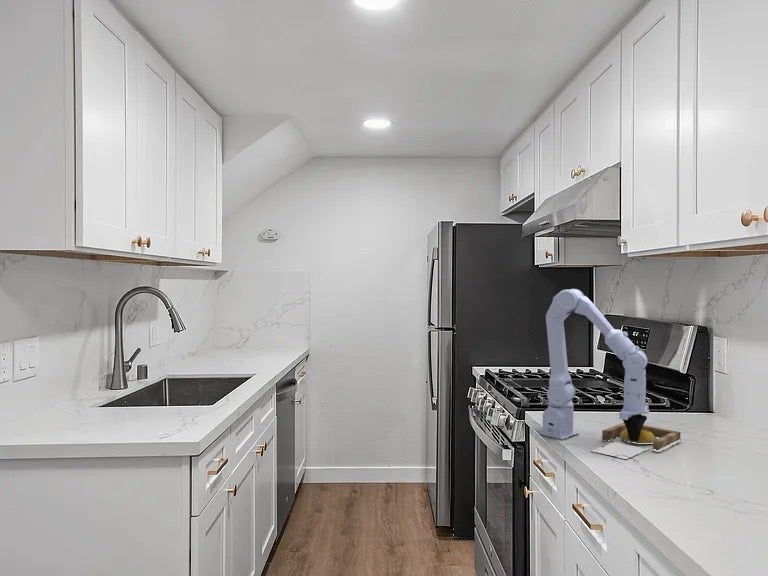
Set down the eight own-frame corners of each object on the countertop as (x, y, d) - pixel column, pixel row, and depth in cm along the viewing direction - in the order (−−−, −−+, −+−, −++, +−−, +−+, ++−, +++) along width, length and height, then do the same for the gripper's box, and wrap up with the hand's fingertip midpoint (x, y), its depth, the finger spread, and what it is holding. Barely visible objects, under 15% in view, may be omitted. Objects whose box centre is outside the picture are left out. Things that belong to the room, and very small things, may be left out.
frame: (658, 453, 167) (658, 442, 167) (602, 440, 178) (602, 430, 178) (680, 442, 177) (680, 432, 177) (625, 431, 189) (625, 421, 189)
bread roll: (648, 448, 172) (648, 434, 172) (617, 441, 179) (617, 428, 179) (659, 442, 178) (660, 428, 178) (629, 436, 185) (629, 423, 184)
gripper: (637, 399, 166) (636, 448, 167) (659, 392, 176) (658, 438, 177) (612, 395, 171) (611, 443, 172) (635, 388, 181) (634, 433, 182)
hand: (633, 440), depth 174 cm, fingers closed
